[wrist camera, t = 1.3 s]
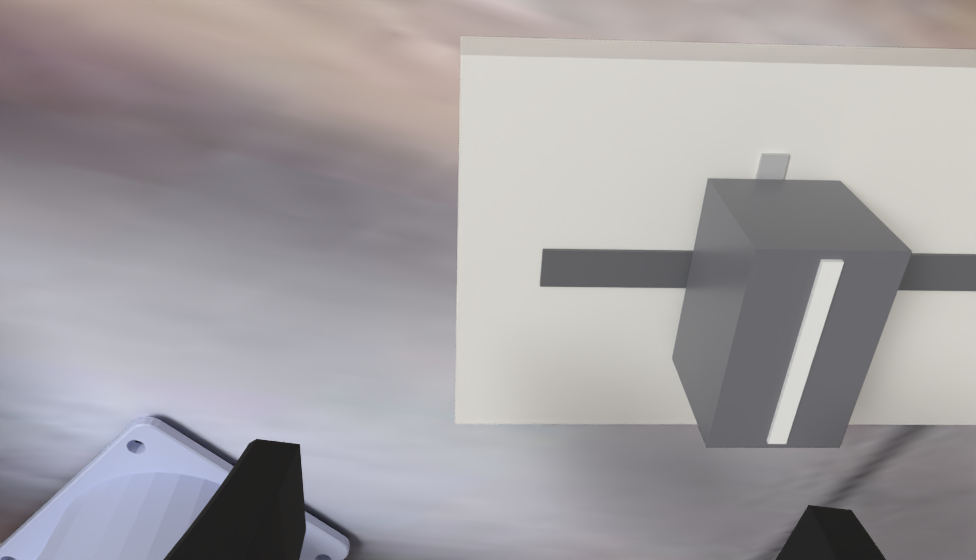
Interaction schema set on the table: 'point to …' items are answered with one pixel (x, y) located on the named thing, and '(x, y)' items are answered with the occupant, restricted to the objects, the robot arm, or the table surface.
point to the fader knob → (783, 311)
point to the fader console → (694, 212)
